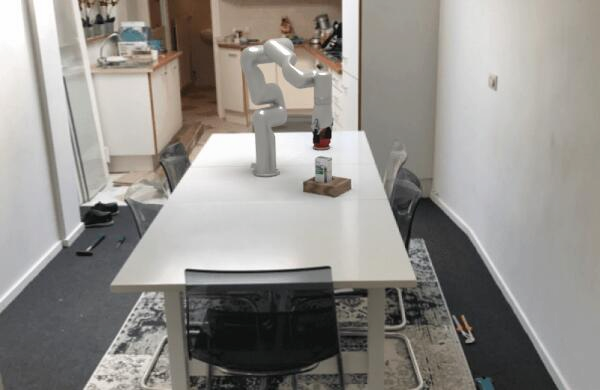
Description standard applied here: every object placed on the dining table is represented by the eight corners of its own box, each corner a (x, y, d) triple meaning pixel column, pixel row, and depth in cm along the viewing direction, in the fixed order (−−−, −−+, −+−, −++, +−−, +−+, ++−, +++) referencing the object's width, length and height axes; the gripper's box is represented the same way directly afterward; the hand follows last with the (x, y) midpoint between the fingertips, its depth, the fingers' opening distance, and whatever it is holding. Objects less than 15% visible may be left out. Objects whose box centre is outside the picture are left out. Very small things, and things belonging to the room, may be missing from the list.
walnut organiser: (303, 191, 284) (303, 181, 282) (319, 183, 295) (319, 174, 293) (335, 197, 275) (335, 187, 274) (351, 188, 286) (351, 178, 285)
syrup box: (314, 190, 285) (314, 158, 281) (321, 186, 290) (320, 155, 286) (326, 192, 283) (325, 159, 278) (332, 188, 287) (332, 156, 283)
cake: (309, 147, 361) (309, 115, 356) (324, 145, 365) (324, 113, 360) (318, 151, 352) (317, 118, 347) (333, 149, 356) (333, 117, 350)
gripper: (325, 97, 283) (325, 135, 288) (304, 103, 269) (304, 143, 275) (340, 99, 279) (339, 137, 285) (319, 105, 265) (319, 146, 271)
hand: (322, 140), depth 280 cm, fingers open, 9 cm apart
